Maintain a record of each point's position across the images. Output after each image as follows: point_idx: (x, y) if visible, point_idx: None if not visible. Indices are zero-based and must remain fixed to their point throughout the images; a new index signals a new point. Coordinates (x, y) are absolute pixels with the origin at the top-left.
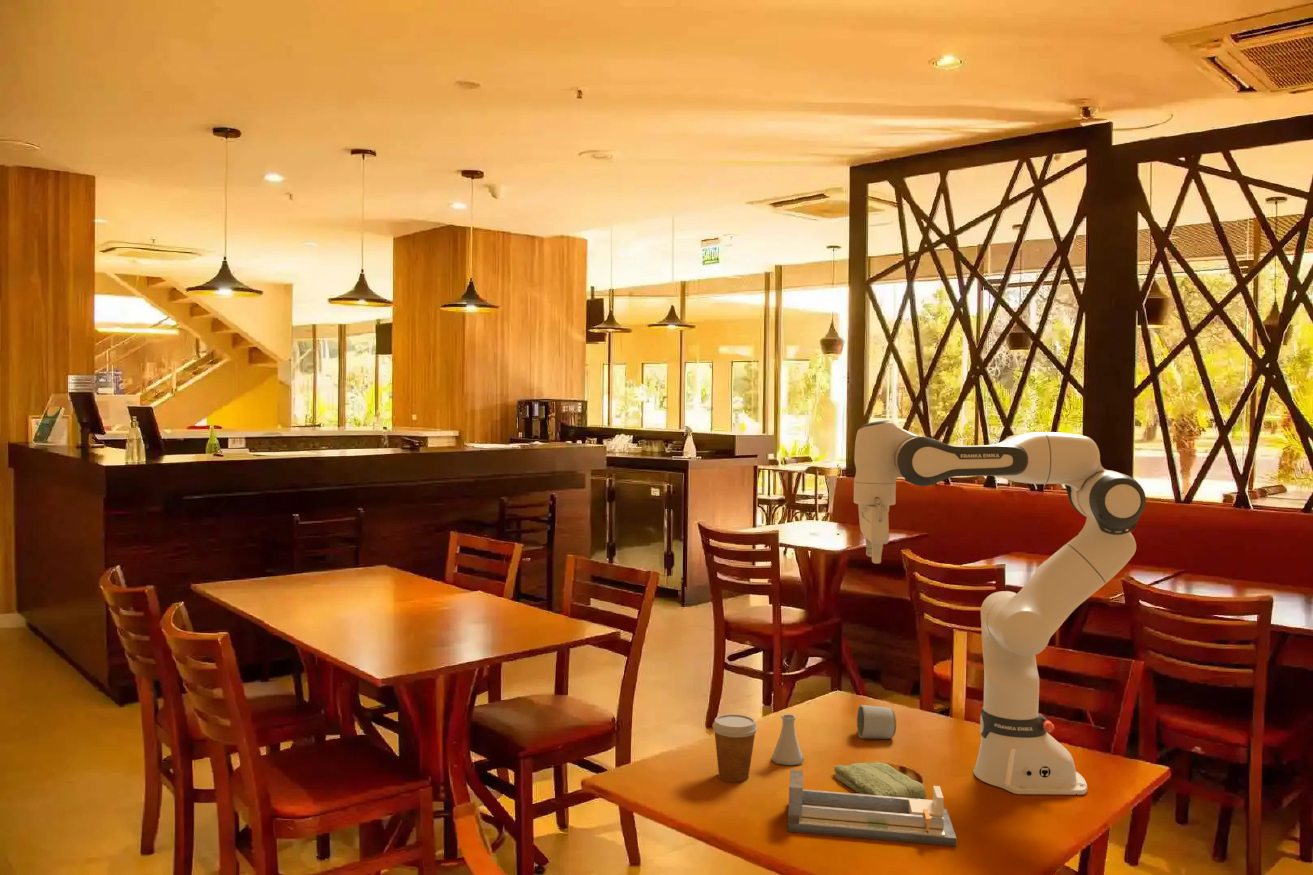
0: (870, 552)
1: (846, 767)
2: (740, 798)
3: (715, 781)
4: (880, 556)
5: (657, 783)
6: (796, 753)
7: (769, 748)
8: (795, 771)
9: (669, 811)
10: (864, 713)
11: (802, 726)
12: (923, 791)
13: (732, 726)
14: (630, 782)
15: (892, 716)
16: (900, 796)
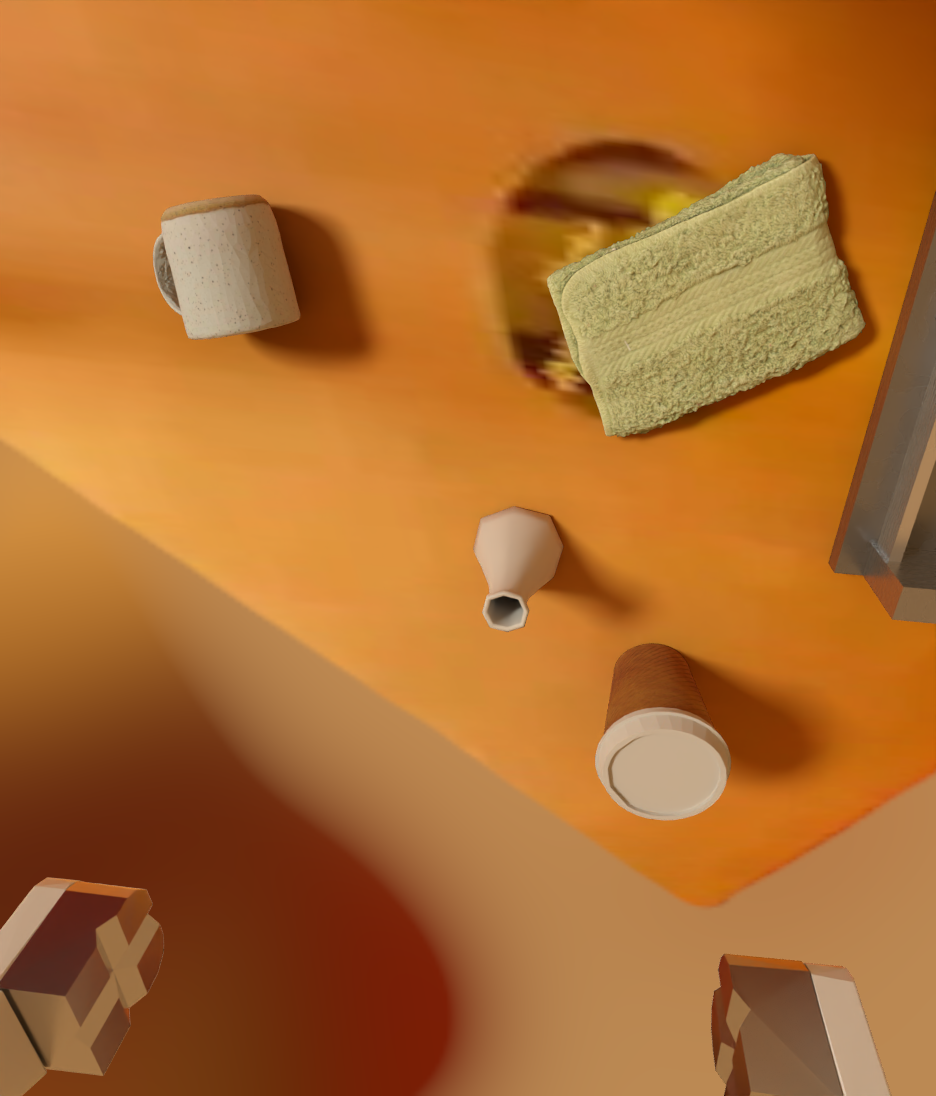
0: (116, 977)
1: (629, 406)
2: (795, 666)
3: None
4: (881, 1087)
5: (706, 813)
6: (543, 540)
7: (436, 584)
8: (910, 607)
9: (868, 796)
10: (265, 327)
11: (229, 486)
12: (819, 165)
13: (721, 785)
14: (703, 855)
15: (237, 213)
16: (835, 252)
